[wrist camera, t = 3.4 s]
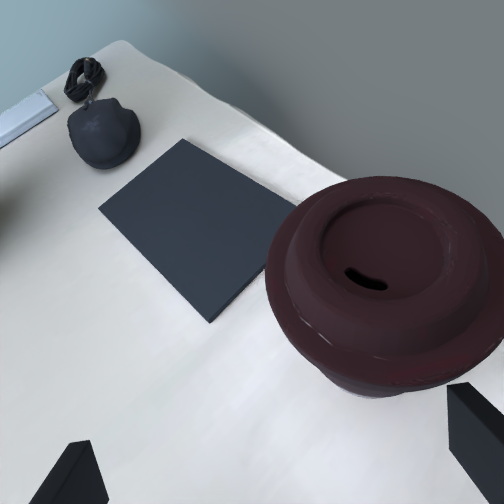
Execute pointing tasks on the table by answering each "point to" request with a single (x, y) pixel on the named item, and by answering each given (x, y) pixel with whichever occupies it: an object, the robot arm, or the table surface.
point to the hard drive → (25, 116)
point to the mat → (199, 224)
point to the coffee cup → (388, 284)
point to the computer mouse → (99, 120)
